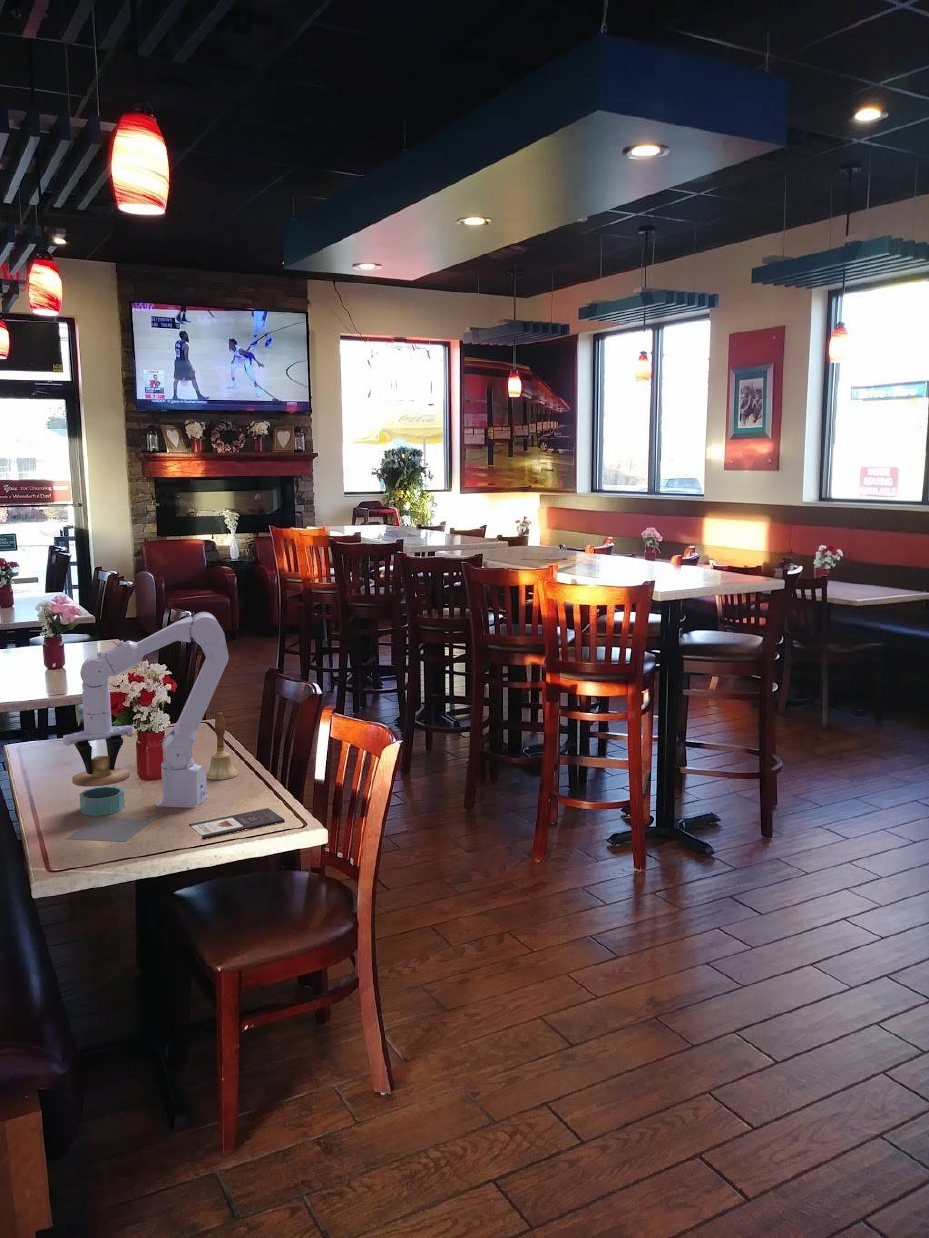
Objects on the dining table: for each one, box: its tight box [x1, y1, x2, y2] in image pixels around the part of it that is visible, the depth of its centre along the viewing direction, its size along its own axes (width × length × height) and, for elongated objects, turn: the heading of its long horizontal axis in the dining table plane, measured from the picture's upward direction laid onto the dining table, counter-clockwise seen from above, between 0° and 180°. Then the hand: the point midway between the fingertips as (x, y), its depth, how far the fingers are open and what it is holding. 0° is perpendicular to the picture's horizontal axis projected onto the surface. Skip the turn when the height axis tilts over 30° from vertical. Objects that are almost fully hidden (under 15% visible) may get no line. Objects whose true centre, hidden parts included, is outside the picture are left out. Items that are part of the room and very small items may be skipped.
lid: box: [71, 755, 131, 788], centre depth 217 cm, size 12×12×5 cm
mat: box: [65, 816, 154, 843], centre depth 206 cm, size 13×13×1 cm
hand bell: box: [206, 711, 239, 781], centre depth 243 cm, size 8×8×16 cm
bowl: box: [79, 785, 125, 817], centre depth 219 cm, size 9×9×4 cm
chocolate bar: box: [188, 807, 286, 840], centre depth 210 cm, size 9×1×18 cm
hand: (100, 771), depth 218 cm, fingers closed on lid, 4 cm apart
